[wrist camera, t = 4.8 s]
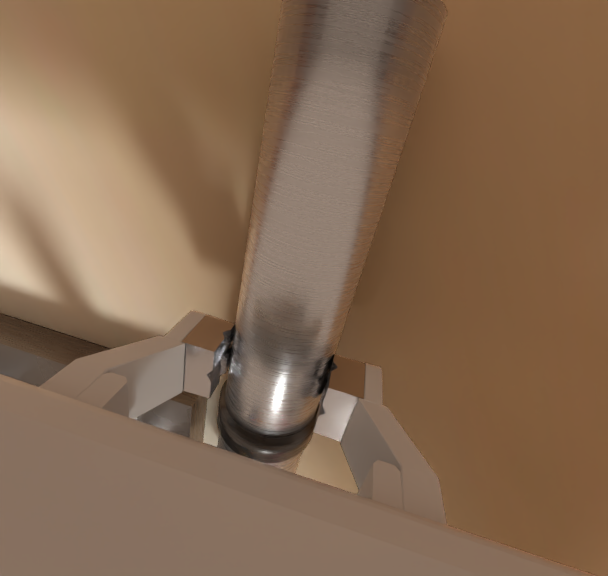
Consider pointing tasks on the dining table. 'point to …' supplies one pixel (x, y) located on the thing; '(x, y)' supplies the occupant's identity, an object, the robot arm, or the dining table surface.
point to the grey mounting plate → (65, 349)
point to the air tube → (318, 205)
